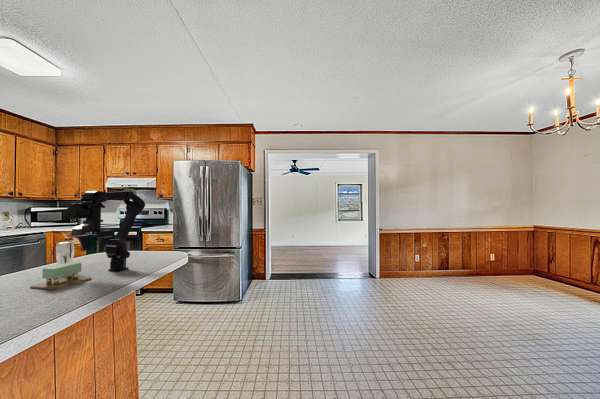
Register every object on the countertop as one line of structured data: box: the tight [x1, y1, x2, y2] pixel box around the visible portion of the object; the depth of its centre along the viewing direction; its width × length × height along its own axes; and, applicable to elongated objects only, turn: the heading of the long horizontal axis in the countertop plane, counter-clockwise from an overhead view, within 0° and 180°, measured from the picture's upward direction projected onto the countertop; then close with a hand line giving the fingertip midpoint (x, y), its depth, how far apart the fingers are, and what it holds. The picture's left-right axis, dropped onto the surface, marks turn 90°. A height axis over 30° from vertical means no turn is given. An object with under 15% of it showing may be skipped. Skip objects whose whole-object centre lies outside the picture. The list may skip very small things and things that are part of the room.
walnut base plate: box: [29, 272, 93, 292], centre depth 119 cm, size 16×12×4 cm
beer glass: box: [55, 240, 75, 265], centre depth 135 cm, size 7×7×15 cm
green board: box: [41, 261, 82, 280], centre depth 119 cm, size 12×6×4 cm, turn 172°
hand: (92, 251), depth 129 cm, fingers open, 9 cm apart
